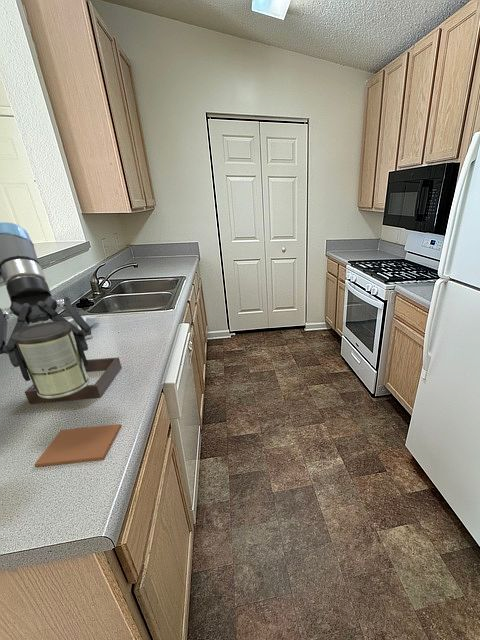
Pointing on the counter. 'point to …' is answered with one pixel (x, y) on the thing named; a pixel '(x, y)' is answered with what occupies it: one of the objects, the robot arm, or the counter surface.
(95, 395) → the rectangular frame
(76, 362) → the coffee can
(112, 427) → the cork mat
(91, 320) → the spoon rest
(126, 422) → the counter surface
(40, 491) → the counter surface
